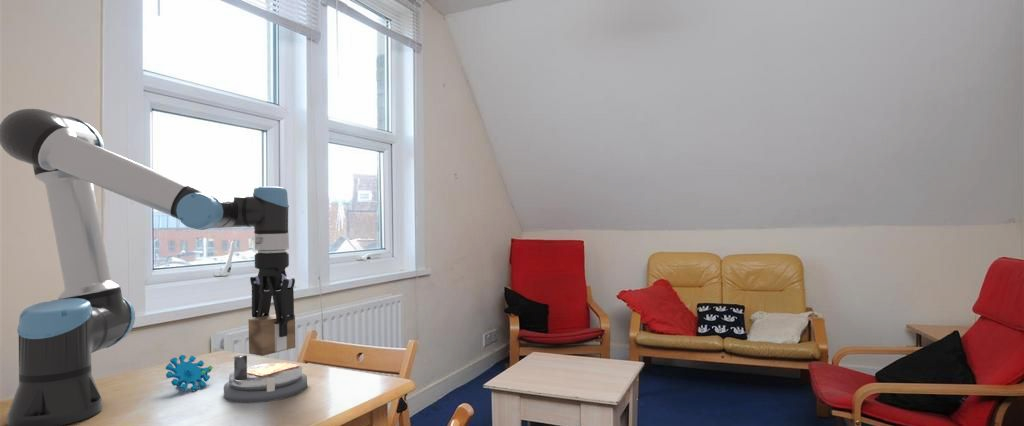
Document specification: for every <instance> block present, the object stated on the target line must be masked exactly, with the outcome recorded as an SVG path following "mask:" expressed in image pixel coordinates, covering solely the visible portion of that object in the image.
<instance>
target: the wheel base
mask: <svg viewBox="0 0 1024 426" xmlns="http://www.w3.org/2000/svg"><path fill="white" fill-rule="evenodd" d="M307 386H308V377H307V375H306V374H305V373H303V372H302V378H301V379H300V380H299V381H297V382H295V383H293V384H290V385H287V386H284V387H279V388H275V377H269V378H267V390H254V391H247V390H237V389H233V388H231V387H230V386H229V381H227V382H225V384H224V385H223V397H224V399H226V400H227V401H231V402H236V403H246V404H247V403H248V404H249V403H263V402H264V403H266V402H271V401H279V400H282V399H286V398H290V397H293V396H296V395H297V394H300V393H302V392H303V391H305V390H306V389H307Z"/></svg>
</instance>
